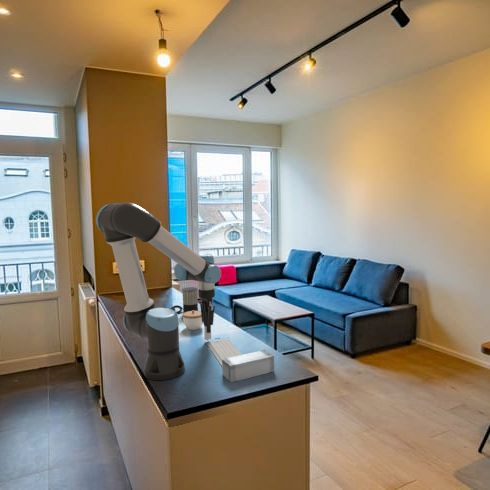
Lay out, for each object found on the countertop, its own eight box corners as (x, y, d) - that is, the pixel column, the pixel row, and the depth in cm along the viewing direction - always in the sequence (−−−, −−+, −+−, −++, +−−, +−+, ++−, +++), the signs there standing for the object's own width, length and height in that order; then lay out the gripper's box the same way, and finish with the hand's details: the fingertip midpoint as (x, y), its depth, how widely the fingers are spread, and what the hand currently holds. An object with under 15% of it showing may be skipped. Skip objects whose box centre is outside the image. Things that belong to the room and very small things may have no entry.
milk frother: (200, 314, 223) (199, 289, 222) (173, 318, 218) (172, 292, 216) (194, 308, 237) (193, 285, 235) (168, 311, 231) (167, 287, 229)
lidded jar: (208, 327, 198) (207, 310, 197) (191, 332, 191) (190, 314, 190) (195, 323, 206) (195, 306, 205) (179, 328, 198) (178, 310, 197)
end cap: (230, 382, 136) (230, 365, 135) (222, 374, 142) (222, 359, 141) (274, 371, 144) (274, 355, 143) (264, 364, 150) (264, 349, 150)
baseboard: (221, 373, 145) (251, 368, 149) (220, 365, 145) (251, 361, 148) (203, 345, 174) (229, 342, 178) (203, 339, 174) (229, 336, 178)
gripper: (219, 290, 172) (221, 341, 174) (208, 285, 183) (209, 333, 185) (204, 292, 168) (205, 344, 170) (193, 287, 179) (195, 336, 182)
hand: (207, 338), depth 178 cm, fingers closed
